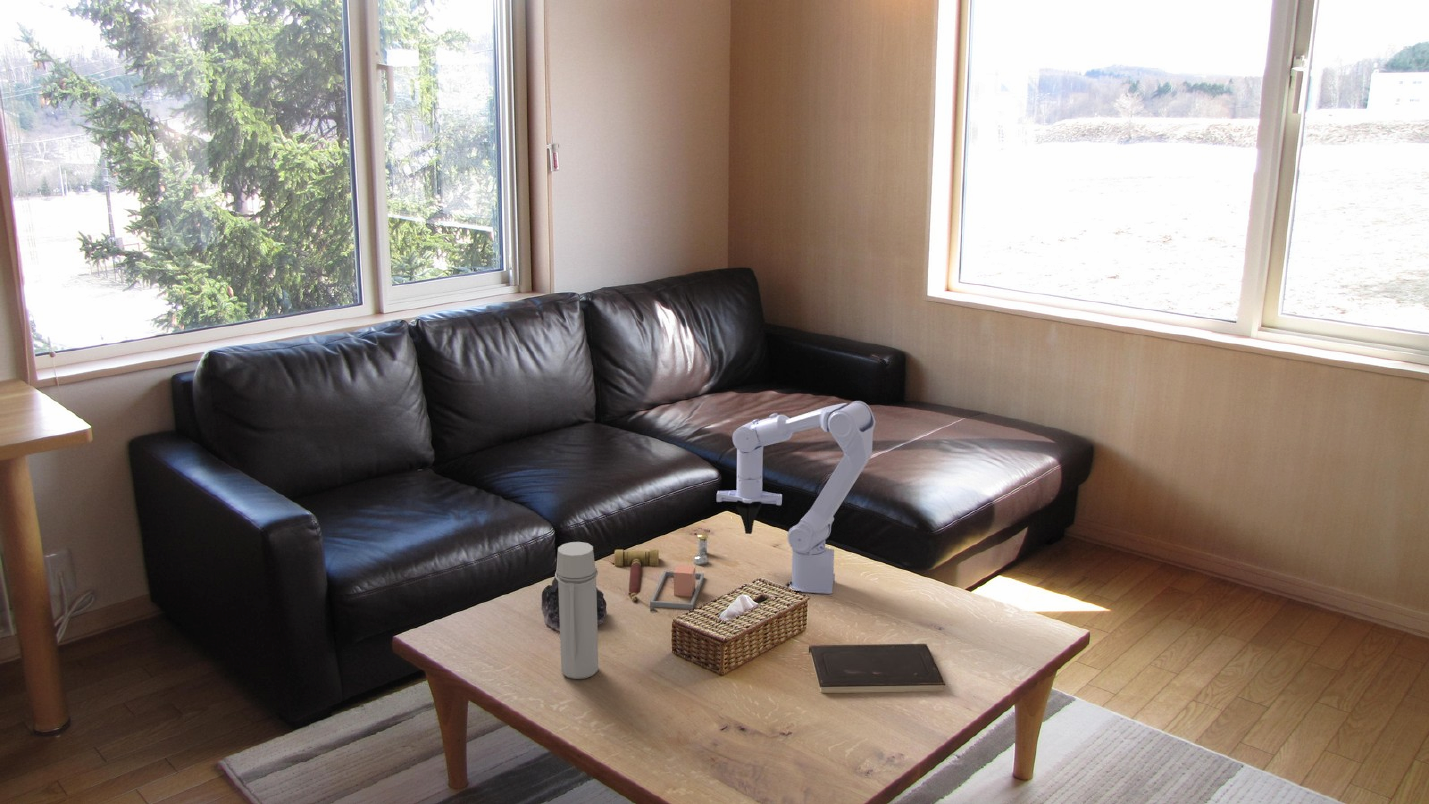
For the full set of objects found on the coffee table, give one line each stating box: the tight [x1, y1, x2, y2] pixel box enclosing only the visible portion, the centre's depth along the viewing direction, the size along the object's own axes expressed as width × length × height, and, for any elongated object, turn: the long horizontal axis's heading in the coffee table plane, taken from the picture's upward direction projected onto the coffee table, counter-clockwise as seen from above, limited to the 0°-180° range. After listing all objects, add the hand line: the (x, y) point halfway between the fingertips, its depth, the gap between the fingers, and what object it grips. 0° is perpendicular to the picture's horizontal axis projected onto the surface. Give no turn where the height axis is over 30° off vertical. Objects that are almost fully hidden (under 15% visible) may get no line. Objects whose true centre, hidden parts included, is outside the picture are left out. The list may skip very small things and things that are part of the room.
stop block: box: [673, 564, 696, 598], centre depth 242 cm, size 4×4×6 cm
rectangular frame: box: [649, 570, 705, 612], centre depth 243 cm, size 9×16×2 cm, turn 172°
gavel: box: [613, 548, 660, 602], centre depth 250 cm, size 21×5×10 cm
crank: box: [693, 532, 709, 566], centre depth 260 cm, size 8×3×5 cm, turn 176°
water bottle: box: [554, 541, 599, 680], centre depth 208 cm, size 9×8×25 cm
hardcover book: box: [808, 643, 946, 694], centre depth 212 cm, size 16×23×2 cm
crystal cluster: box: [541, 574, 608, 632], centre depth 232 cm, size 13×14×10 cm
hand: (748, 532), depth 254 cm, fingers closed
